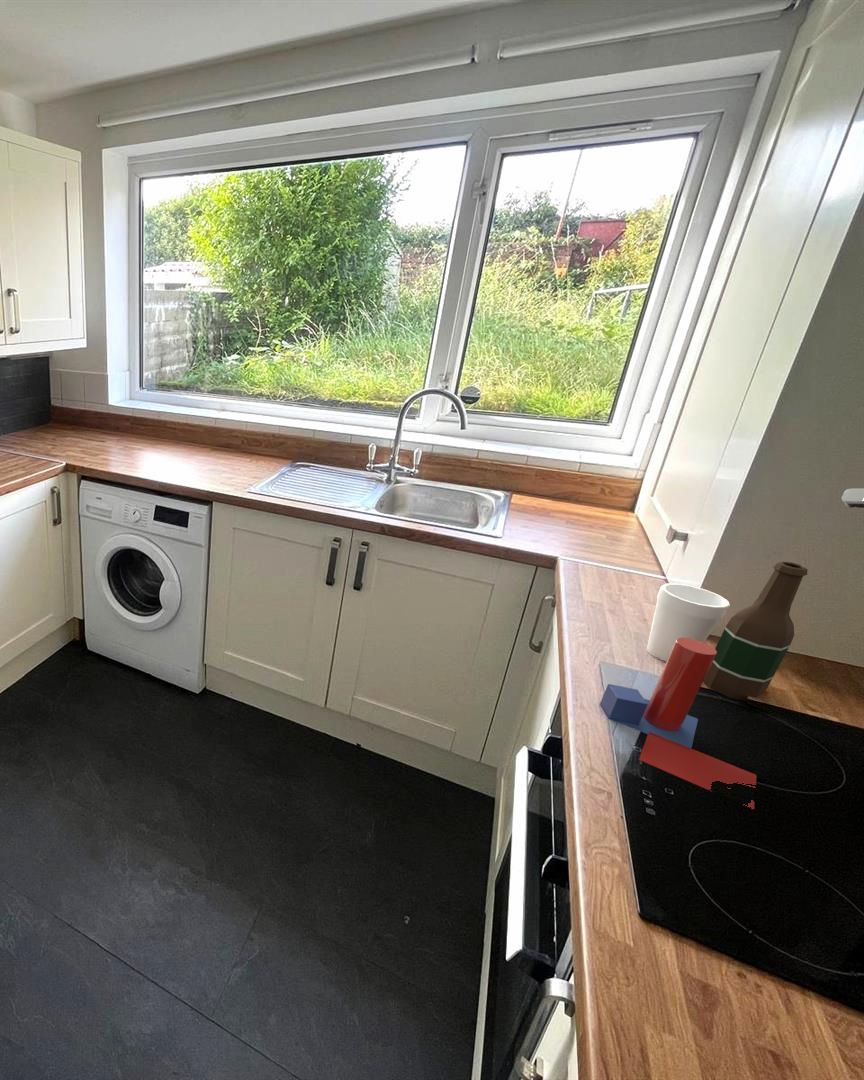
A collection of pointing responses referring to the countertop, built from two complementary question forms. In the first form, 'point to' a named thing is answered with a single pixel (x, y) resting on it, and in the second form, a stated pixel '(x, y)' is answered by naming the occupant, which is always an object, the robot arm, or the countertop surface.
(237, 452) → the countertop surface
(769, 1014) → the countertop surface
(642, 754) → the red mat
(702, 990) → the countertop surface
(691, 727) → the blue mat
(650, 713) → the red canister
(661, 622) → the foam cup
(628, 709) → the blue block
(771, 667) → the beer bottle
